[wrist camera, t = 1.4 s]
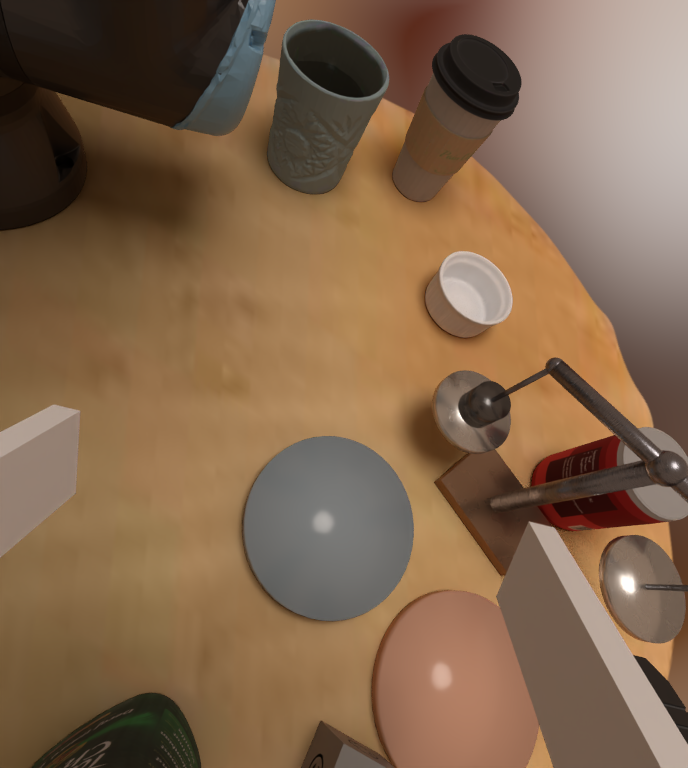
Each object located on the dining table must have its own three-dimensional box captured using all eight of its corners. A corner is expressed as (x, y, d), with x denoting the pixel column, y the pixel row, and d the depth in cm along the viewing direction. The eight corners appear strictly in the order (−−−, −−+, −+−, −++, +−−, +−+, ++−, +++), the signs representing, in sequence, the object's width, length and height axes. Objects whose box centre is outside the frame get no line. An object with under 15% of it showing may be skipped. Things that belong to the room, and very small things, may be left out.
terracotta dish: (335, 676, 34) (342, 680, 32) (456, 555, 40) (465, 554, 39) (450, 854, 32) (462, 866, 31) (556, 696, 39) (569, 701, 37)
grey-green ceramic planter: (270, 197, 48) (298, 92, 37) (250, 124, 51) (271, 7, 40) (356, 199, 52) (403, 105, 41) (334, 131, 55) (372, 27, 44)
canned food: (603, 499, 48) (711, 481, 38) (565, 549, 44) (674, 543, 35) (556, 440, 49) (650, 408, 39) (515, 484, 45) (608, 461, 35)
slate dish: (206, 501, 35) (208, 499, 34) (343, 412, 42) (349, 407, 40) (309, 662, 33) (315, 666, 32) (435, 542, 40) (444, 541, 39)
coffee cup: (423, 226, 54) (503, 115, 41) (363, 173, 54) (425, 45, 41) (459, 190, 59) (542, 81, 45) (404, 141, 58) (471, 17, 45)
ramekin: (436, 260, 53) (457, 236, 49) (498, 303, 54) (522, 283, 50) (407, 311, 49) (427, 289, 45) (474, 358, 49) (499, 340, 46)
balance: (387, 418, 43) (536, 313, 25) (437, 383, 46) (599, 269, 29) (550, 646, 40) (844, 704, 23) (591, 591, 43) (873, 603, 26)
